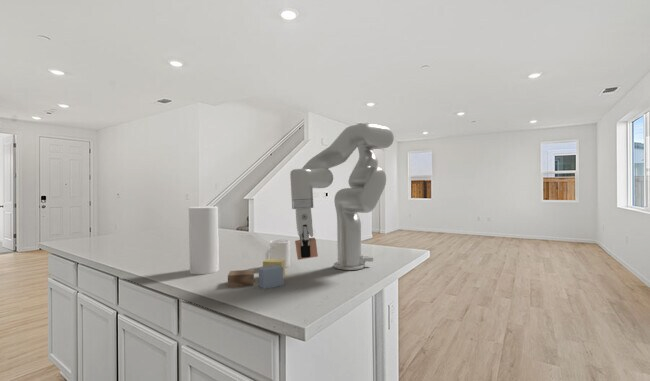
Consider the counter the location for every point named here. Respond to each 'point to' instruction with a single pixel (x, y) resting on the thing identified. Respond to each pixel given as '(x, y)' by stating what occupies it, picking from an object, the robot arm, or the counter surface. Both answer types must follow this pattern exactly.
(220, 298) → the counter surface
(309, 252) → the robot arm
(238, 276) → the walnut block
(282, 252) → the mug
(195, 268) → the tall pillar cylinder
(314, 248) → the terracotta brick
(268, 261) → the mustard brick
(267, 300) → the counter surface
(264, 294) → the counter surface
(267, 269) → the slate brick
